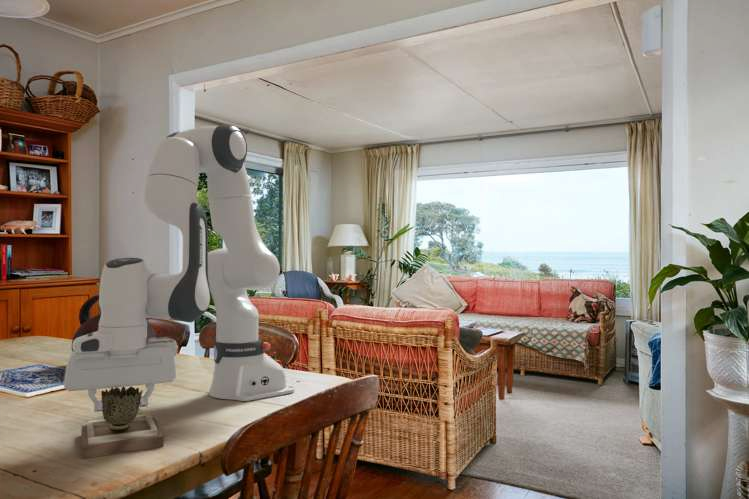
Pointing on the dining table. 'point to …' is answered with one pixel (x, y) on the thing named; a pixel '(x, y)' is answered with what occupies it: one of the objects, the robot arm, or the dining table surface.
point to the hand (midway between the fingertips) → (121, 408)
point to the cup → (120, 407)
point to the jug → (96, 321)
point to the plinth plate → (120, 437)
